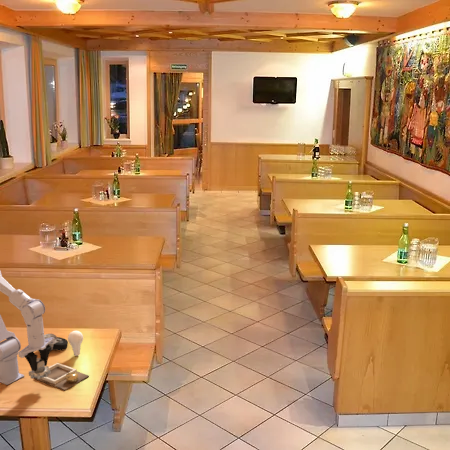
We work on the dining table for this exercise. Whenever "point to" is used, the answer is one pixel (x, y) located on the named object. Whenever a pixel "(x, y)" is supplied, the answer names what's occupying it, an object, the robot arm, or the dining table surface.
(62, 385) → the carrier board
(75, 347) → the lightbulb
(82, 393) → the dining table surface
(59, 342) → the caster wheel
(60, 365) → the carrier pocket
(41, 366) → the planet gear
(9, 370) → the robot arm
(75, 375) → the golden brown dome
